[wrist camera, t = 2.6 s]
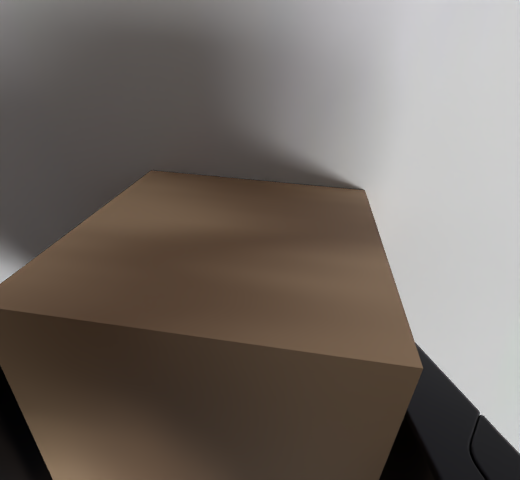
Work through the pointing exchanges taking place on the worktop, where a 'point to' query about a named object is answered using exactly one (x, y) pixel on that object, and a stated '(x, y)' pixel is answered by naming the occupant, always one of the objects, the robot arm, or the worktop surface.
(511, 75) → the worktop surface
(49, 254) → the walnut cube
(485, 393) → the worktop surface
